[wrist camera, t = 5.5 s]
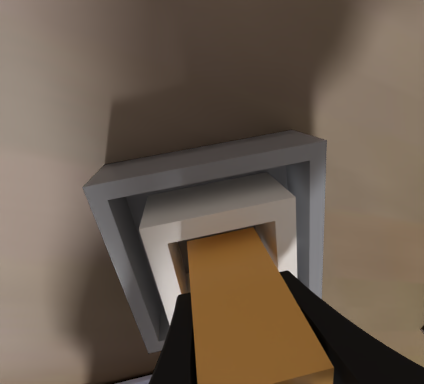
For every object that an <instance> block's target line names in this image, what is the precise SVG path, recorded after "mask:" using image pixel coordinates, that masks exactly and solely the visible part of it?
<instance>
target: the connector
mask: <svg viewBox="0 0 424 384" xmlns="http://www.w3.org/2000/svg"><path fill="white" fill-rule="evenodd" d="M187 250H188V264H189V277H190V290H191V303H192V317H193V330H194V343H195V357H196V370H197V383H198V384H333V376H334V367H333V365H332V363H331V361H330V360H329V358H328V356H327V354H326V353H325V351H324V349H323V347H322V346H321V344H320V342H319V340H318V339H317V337H316V335H315V333H314V332H313V330H312V328H311V327H310V325H309V323H308V321H307V320H306V318H305V316H304V314H303V313H302V311H301V309H300V307H299V306H298V304H297V302H296V300H295V299H294V297H293V295H292V293H291V292H290V290H289V288H288V287H287V285H286V283H285V281H284V280H283V278H282V276H281V274H280V273H279V271H278V269H277V267H276V266H275V264H274V262H273V260H272V259H271V257H270V255H269V253H268V252H267V250H266V248H265V247H264V245H263V243H262V241H261V240H260V238H259V236H258V234H257V233H256V231H255V229H254V227H251V228H247V229H242V230H237V231H233V232H228V233H223V234H219V235H214V236H209V237H205V238H200V239H196V240H191V241H187Z"/></svg>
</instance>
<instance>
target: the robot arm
mask: <svg viewBox="0 0 424 384" xmlns="http://www.w3.org/2000/svg"><path fill="white" fill-rule="evenodd" d="M279 273H280V274H281V276H282V278H283V280H284V281H285V283H286V285H287V287H288V288H289V290H290V292H291V293H292V295H293V297H294V299H295V300H296V302H297V304H298V306H299V307H300V309H301V311H302V313H303V314H304V316H305V318H306V320H307V321H308V323H309V325H310V327H311V328H312V330H313V332H314V333H315V335H316V337H317V339H318V340H319V342H320V344H321V346H322V347H323V349H324V351H325V353H326V354H327V356H328V358H329V360H330V361H331V363H332V365H333V367H334V376H333V384H424V367H422V366H420V365H418V364H417V363H415V362H413V361H411V360H409V359H408V358H406V357H404V356H402V355H401V354H399V353H398V352H396V351H394V350H393V349H391V348H389V347H388V346H386V345H384V344H383V343H381V342H380V341H378V340H377V339H375V338H374V337H372V336H371V335H369V334H368V333H366V332H365V331H363V330H362V329H360V328H359V327H357V326H356V325H355V324H353V323H352V322H351V321H349V320H348V319H346V318H345V317H344V316H342V315H341V314H340V313H338V312H337V311H336V310H334V309H333V308H332V307H331V306H329V305H328V304H327V303H326V302H324V301H323V300H322V299H321V298H319V297H318V296H317V295H316V294H315V293H313V292H312V291H311V290H310V289H309V288H308V287H306V286H305V285H304V284H303V283H302V282H301V281H300V280H298V279H297V278H296V277H295V276H294V275H293V274H292V273H291V272H289V271H288V270H286V271H282V272H279ZM116 384H198V383H197V370H196V357H195V343H194V330H193V317H192V303H191V292H189V293H185V294H180V295H178V297H177V299H176V304H175V309H174V313H173V317H172V320H171V324H170V327H169V330H168V333H167V336H166V339H165V342H164V345H163V348H162V351H161V354H160V356H159V359H158V361H157V364H156V367H155V369H154V372H153V374H152V375H148V376H144V377H140V378H136V379H132V380H128V381H124V382H120V383H116Z"/></svg>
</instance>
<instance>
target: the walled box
mask: <svg viewBox="0 0 424 384" xmlns="http://www.w3.org/2000/svg"><path fill="white" fill-rule="evenodd" d="M326 147H327V140H324V139H321V138H317V137H314V136H311V135H308V134H305V133H301V132H298V131H295V130H289V131H283V132H278V133H273V134H267V135H262V136H257V137H251V138H246V139H240V140H235V141H230V142H224V143H219V144H214V145H208V146H203V147H197V148H192V149H187V150H181V151H176V152H171V153H165V154H160V155H154V156H149V157H144V158H138V159H133V160H128V161H122V162H117V163H111V164H106V165H104V166H103V167H102V168H101V169H100V170H99V171H98V172H97V173H96V174H95V175H94V176H93V177H92V178H91V179H90V180H89V181H88V182H87V183H86V184H85V185H84V186H83V187H82V188H83V190H84V193H85V195H86V198H87V200H88V203H89V205H90V208H91V210H92V213H93V215H94V218H95V220H96V223H97V225H98V228H99V230H100V233H101V235H102V238H103V240H104V243H105V245H106V248H107V250H108V253H109V255H110V258H111V260H112V263H113V265H114V268H115V271H116V273H117V276H118V278H119V281H120V283H121V286H122V288H123V291H124V293H125V296H126V298H127V301H128V303H129V306H130V308H131V311H132V313H133V316H134V318H135V321H136V323H137V326H138V328H139V331H140V333H141V336H142V338H143V341H144V343H145V346H146V348H147V351H148V354H149V353H153V352H158V351H162V348H163V345H164V342H165V339H166V336H167V333H168V330H169V327H170V324H171V320H172V317H173V313H174V309H175V304H176V299H177V297H178V295H180V294H185V293H189V292H191V290H190V277H189V264H188V250H187V241H191V240H196V239H200V238H205V237H209V236H214V235H219V234H223V233H228V232H233V231H237V230H242V229H247V228H251V227H254V229H255V231H256V233H257V234H258V236H259V238H260V240H261V241H262V243H263V245H264V247H265V248H266V250H267V252H268V253H269V255H270V257H271V259H272V260H273V262H274V264H275V266H276V267H277V269H278V271H279V272H282V271H286V270H288V271H289V272H291V273H292V274H293V275H294V276H295V277H296V278H297V279H298V280H300V281H301V282H302V283H303V284H304V285H305V286H306V287H308V288H309V289H310V290H311V291H312V292H313V293H315V294H316V295H317V296H318V297H319V298H321V299H322V270H323V239H324V209H325V178H326Z"/></svg>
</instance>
